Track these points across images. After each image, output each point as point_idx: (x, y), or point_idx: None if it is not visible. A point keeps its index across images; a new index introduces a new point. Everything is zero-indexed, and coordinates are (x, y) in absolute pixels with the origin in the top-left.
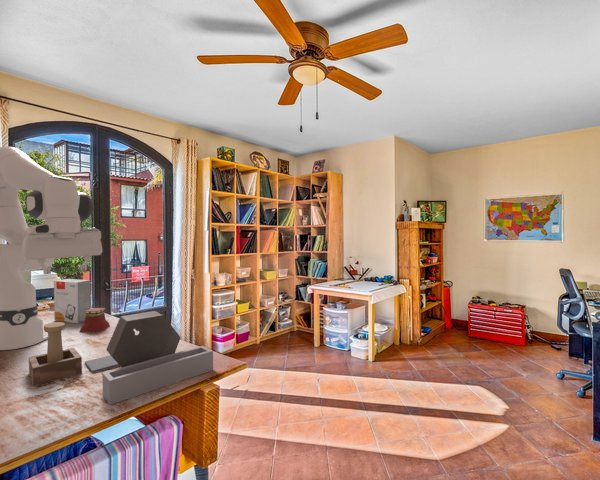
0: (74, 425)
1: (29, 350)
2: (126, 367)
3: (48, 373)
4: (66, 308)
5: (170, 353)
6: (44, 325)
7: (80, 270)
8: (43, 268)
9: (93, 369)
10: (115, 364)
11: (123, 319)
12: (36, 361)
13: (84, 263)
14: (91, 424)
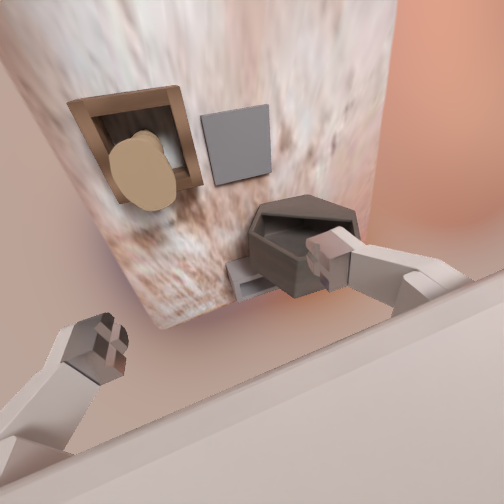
0: (201, 305)
1: None
2: (259, 276)
3: None
4: None
5: None
6: (112, 172)
7: (306, 241)
8: (51, 373)
9: (217, 180)
10: (252, 176)
11: (294, 281)
12: (108, 159)
13: (362, 278)
14: (214, 307)
